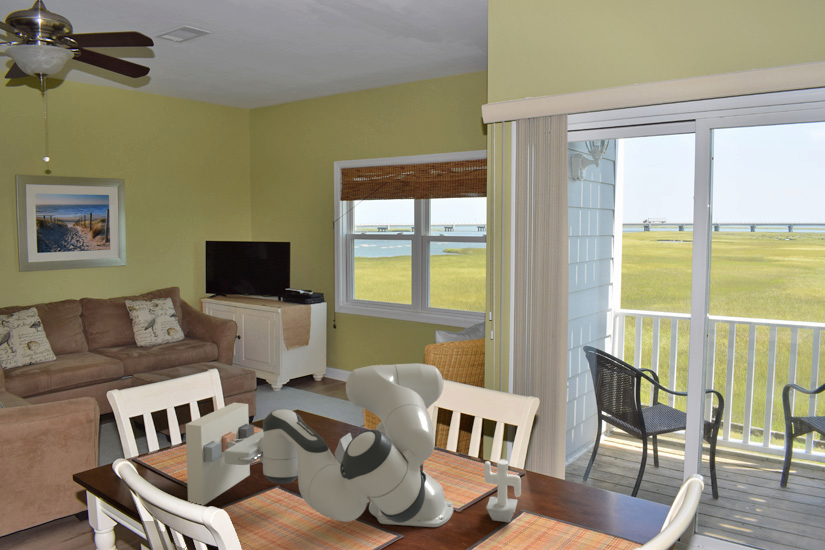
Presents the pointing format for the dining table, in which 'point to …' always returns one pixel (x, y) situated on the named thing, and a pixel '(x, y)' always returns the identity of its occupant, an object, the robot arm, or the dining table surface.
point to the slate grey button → (212, 451)
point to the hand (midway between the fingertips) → (230, 443)
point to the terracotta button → (227, 440)
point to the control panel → (217, 475)
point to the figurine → (502, 491)
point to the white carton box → (342, 447)
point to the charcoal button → (245, 431)
